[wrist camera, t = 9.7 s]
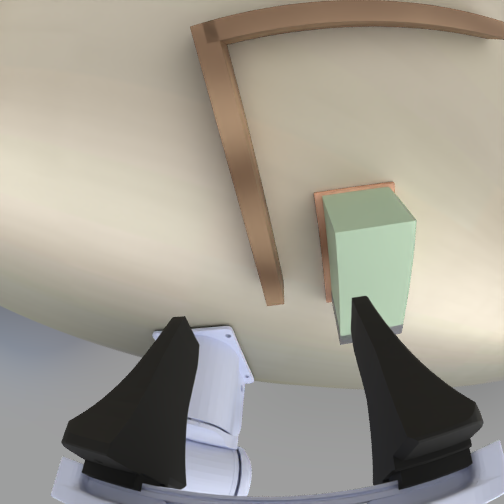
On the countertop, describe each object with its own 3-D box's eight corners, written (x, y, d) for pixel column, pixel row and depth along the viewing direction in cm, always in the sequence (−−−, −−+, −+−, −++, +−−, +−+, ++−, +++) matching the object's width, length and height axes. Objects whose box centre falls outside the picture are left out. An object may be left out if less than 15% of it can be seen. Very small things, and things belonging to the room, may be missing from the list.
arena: (474, 270, 21) (487, 288, 19) (274, 307, 24) (273, 330, 22) (484, 23, 10) (506, 22, 8) (201, 32, 13) (189, 26, 11)
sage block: (389, 186, 17) (417, 220, 14) (385, 291, 22) (401, 333, 19) (321, 195, 18) (334, 233, 15) (331, 300, 23) (340, 344, 19)
